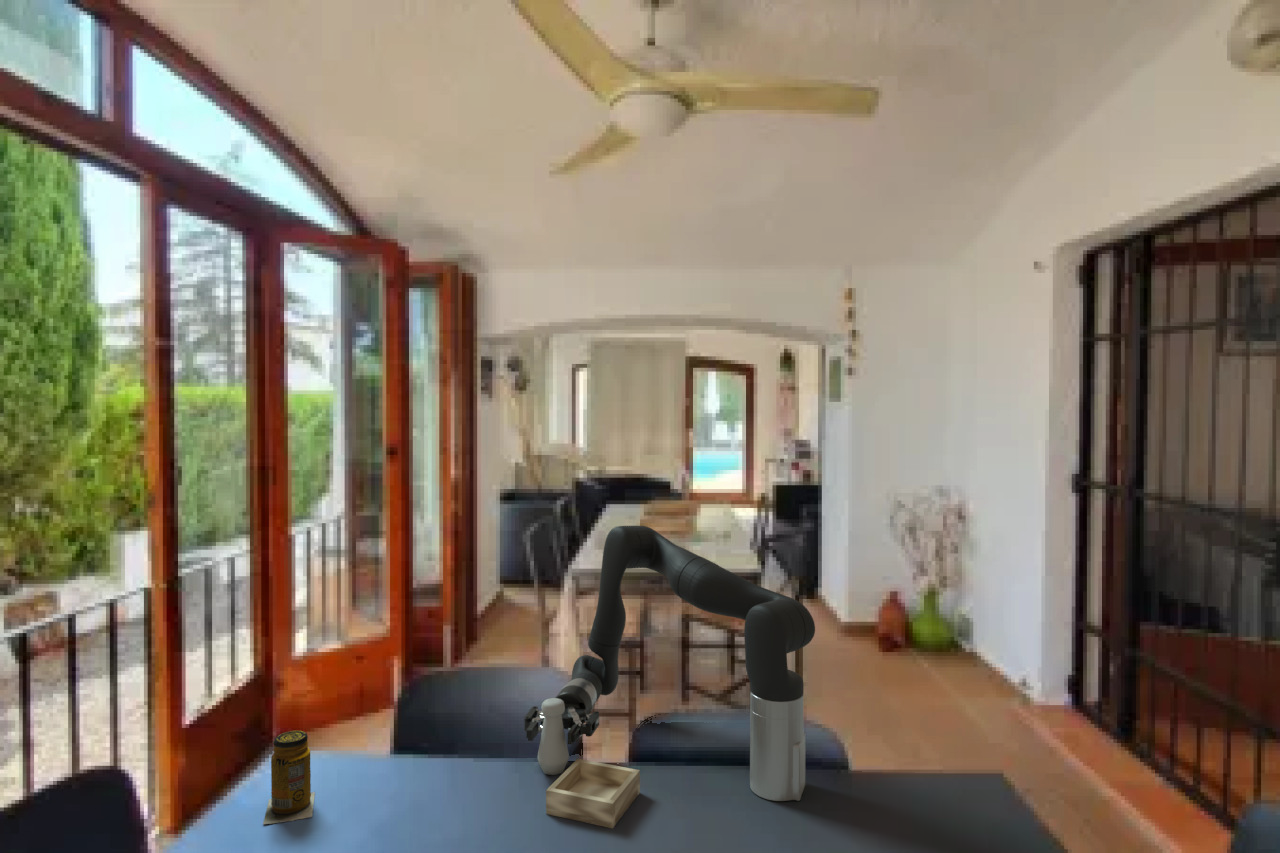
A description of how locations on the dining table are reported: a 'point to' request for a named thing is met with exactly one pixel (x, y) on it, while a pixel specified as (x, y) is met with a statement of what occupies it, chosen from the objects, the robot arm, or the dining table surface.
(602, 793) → the serving bin
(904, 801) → the dining table surface
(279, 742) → the condiment
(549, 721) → the salt shaker
